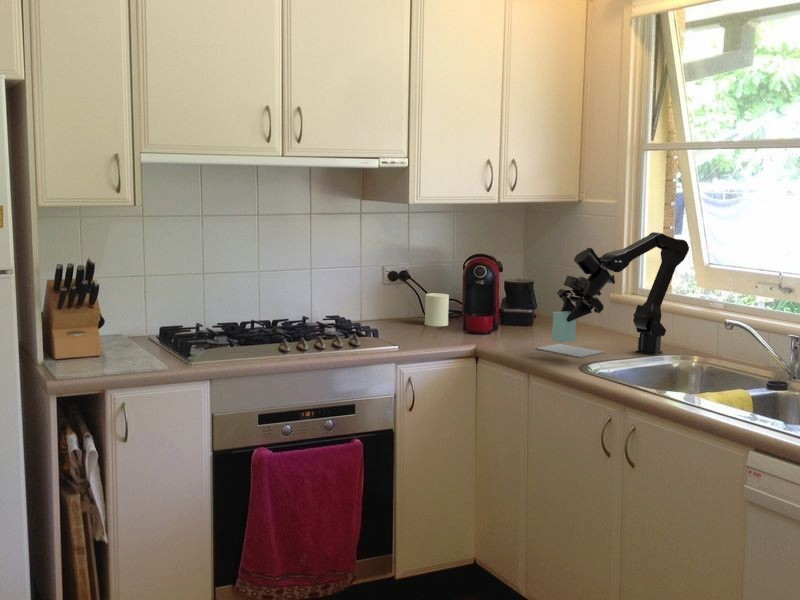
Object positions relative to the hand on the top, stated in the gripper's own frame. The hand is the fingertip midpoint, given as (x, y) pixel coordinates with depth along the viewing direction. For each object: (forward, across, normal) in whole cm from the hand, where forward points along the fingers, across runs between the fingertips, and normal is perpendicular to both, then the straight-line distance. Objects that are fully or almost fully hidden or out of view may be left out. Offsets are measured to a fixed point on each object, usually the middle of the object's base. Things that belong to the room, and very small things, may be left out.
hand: (563, 320), depth 287 cm
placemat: (+2, -10, +16) cm, 18 cm away
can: (+16, -71, +2) cm, 73 cm away
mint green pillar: (+4, 0, +5) cm, 7 cm away
